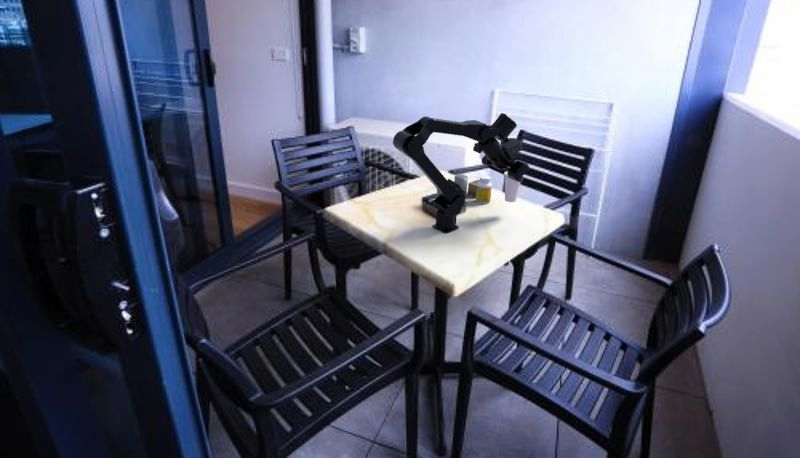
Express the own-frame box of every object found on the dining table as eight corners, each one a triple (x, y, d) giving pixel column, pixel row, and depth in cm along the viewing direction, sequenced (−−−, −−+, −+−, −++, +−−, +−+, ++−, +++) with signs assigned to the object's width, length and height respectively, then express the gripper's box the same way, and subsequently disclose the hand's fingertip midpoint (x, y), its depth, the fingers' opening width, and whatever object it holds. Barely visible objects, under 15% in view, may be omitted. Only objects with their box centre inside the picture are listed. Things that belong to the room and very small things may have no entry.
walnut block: (477, 198, 181) (478, 186, 179) (467, 194, 184) (468, 182, 182) (487, 195, 184) (488, 183, 182) (477, 191, 188) (478, 179, 186)
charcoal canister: (460, 200, 179) (461, 180, 175) (450, 196, 182) (451, 176, 179) (468, 197, 182) (470, 177, 178) (459, 193, 185) (460, 173, 182)
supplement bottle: (474, 203, 176) (476, 178, 172) (477, 198, 181) (479, 174, 177) (488, 205, 175) (491, 180, 171) (491, 200, 179) (494, 175, 175)
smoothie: (521, 203, 161) (526, 164, 156) (502, 203, 161) (507, 163, 156) (517, 197, 167) (522, 158, 161) (499, 196, 167) (503, 158, 162)
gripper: (529, 138, 145) (550, 168, 154) (492, 125, 160) (513, 153, 169) (505, 165, 145) (528, 194, 154) (470, 150, 160) (493, 177, 169)
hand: (515, 178), depth 162 cm, fingers closed on smoothie, 6 cm apart
